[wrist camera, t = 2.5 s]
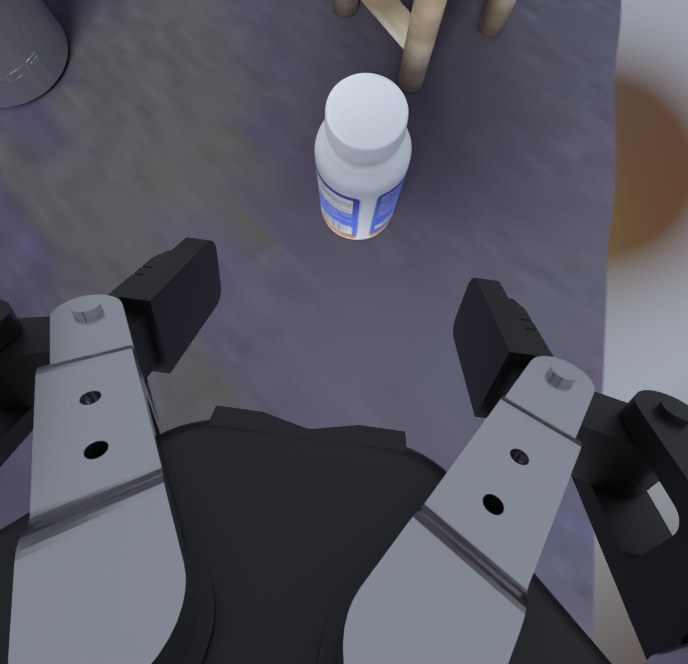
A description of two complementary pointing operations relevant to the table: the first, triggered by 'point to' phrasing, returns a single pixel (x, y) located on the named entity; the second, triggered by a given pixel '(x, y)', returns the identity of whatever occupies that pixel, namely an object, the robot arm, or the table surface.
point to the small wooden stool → (421, 29)
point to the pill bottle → (362, 154)
